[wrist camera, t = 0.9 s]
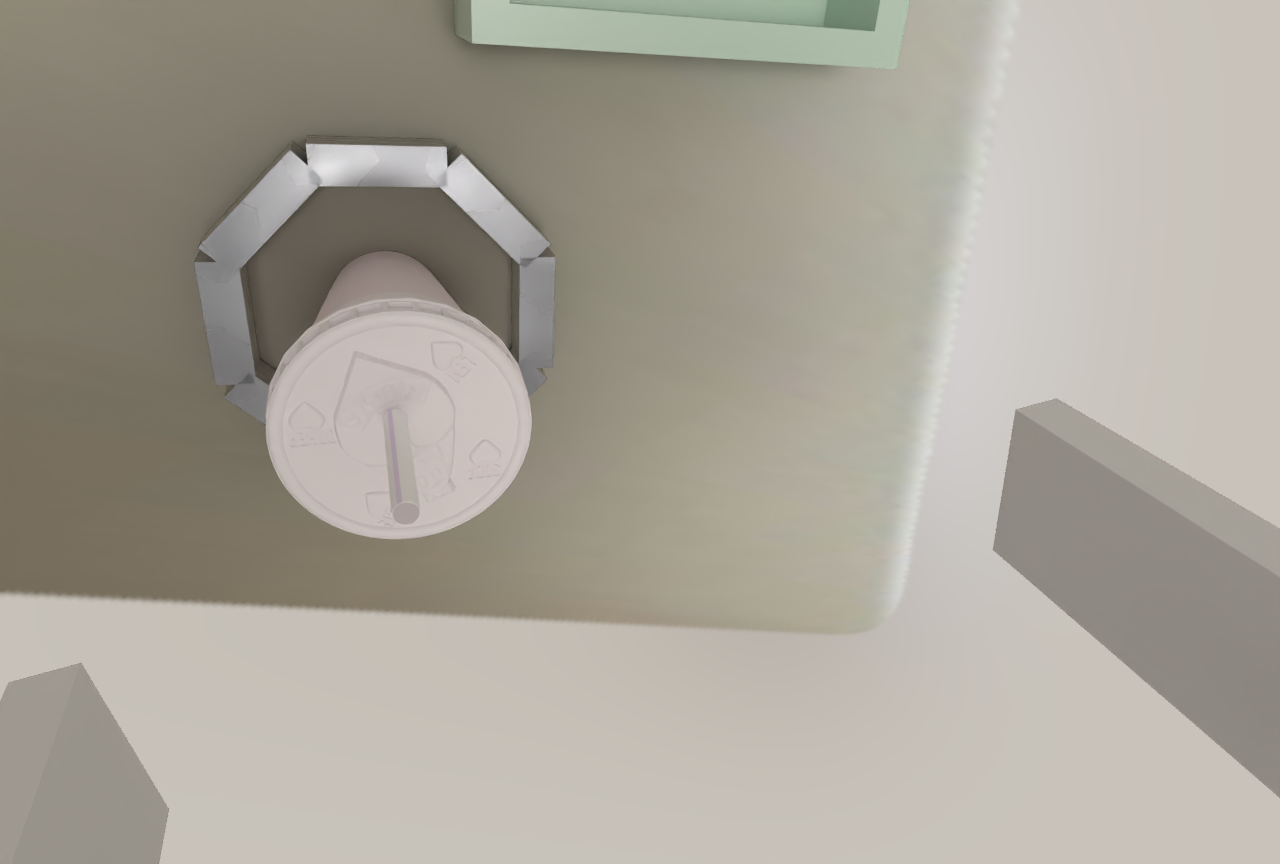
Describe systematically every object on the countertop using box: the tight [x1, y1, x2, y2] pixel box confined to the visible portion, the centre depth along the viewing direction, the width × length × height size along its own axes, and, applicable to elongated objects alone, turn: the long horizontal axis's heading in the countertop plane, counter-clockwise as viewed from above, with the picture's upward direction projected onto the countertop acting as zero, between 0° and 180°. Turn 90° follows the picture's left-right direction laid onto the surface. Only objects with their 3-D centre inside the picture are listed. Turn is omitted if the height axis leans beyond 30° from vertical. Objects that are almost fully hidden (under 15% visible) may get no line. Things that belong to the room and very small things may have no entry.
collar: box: [194, 135, 555, 425], centre depth 28 cm, size 11×11×2 cm
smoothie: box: [265, 251, 532, 539], centre depth 23 cm, size 6×6×14 cm
